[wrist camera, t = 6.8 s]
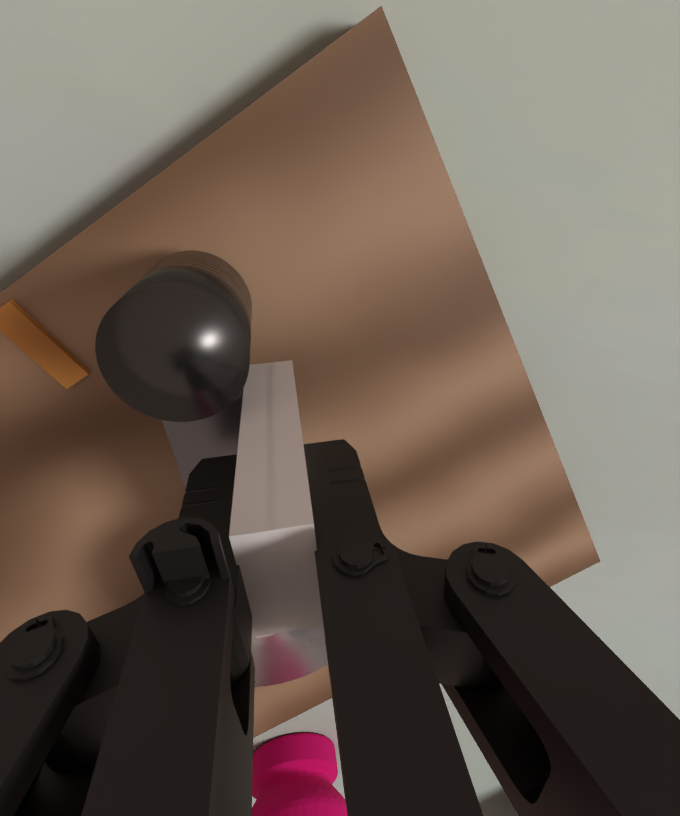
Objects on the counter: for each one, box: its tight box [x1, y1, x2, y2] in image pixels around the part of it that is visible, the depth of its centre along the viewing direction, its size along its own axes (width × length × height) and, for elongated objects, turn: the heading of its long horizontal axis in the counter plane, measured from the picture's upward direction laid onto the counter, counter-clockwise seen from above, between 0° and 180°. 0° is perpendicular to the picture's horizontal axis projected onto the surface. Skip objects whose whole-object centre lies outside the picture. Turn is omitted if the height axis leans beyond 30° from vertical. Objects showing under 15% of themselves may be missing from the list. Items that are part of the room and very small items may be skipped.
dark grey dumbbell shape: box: [95, 250, 328, 687], centre depth 14 cm, size 16×7×4 cm, turn 4°
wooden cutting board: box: [0, 6, 600, 738], centre depth 19 cm, size 26×26×2 cm
